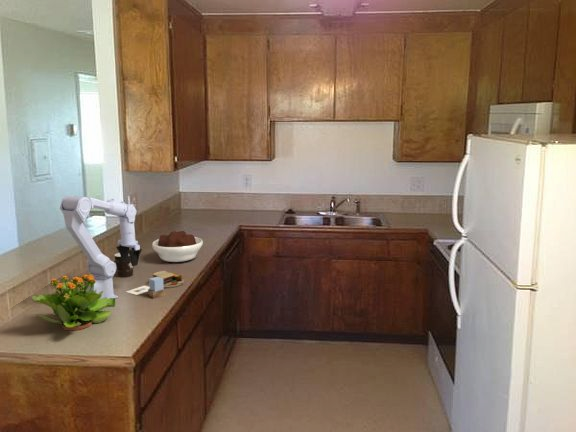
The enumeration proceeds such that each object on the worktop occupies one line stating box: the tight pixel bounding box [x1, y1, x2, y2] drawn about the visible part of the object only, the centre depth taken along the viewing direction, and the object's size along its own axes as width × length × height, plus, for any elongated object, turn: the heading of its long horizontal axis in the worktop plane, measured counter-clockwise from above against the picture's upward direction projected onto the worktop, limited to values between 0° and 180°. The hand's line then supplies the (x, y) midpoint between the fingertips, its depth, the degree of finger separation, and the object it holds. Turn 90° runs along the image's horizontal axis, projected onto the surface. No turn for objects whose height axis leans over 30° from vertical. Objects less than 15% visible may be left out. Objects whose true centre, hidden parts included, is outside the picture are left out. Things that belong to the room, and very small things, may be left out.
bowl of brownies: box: [151, 230, 204, 263], centre depth 266 cm, size 25×25×15 cm
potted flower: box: [31, 274, 116, 331], centre depth 181 cm, size 25×24×18 cm
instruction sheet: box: [125, 285, 150, 296], centre depth 221 cm, size 10×7×1 cm
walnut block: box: [147, 288, 166, 299], centre depth 214 cm, size 5×5×3 cm
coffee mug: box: [113, 252, 134, 279], centre depth 240 cm, size 12×9×10 cm
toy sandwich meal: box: [152, 270, 185, 289], centre depth 229 cm, size 12×14×5 cm
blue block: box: [148, 277, 165, 292], centre depth 213 cm, size 4×4×4 cm
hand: (130, 263), depth 222 cm, fingers open, 7 cm apart
